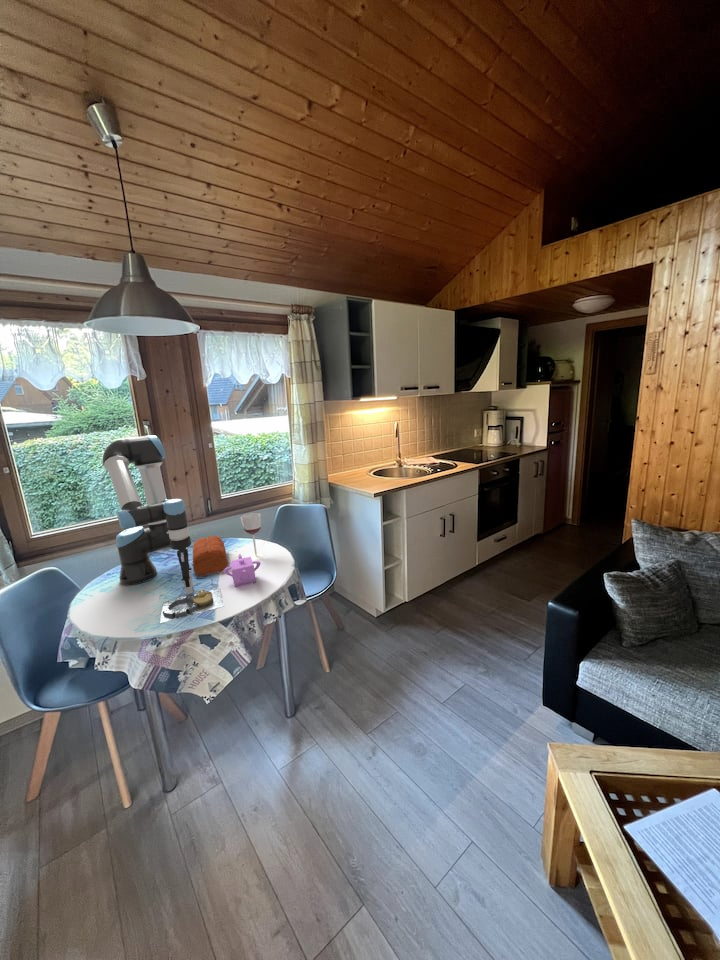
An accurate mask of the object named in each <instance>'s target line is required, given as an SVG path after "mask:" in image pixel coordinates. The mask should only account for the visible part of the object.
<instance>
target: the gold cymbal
mask: <svg viewBox="0 0 720 960" xmlns="http://www.w3.org/2000/svg"><path fill="white" fill-rule="evenodd" d="M209 591H210V590H208V591H206V590H205V589H200V590H198V593H196V595H195V594H194V595H195V596H194V597H193V601H194V603H195V604H197V605H198V606H205V605H208V604H210V603H211V602H212V601H213V596H212V593H211V592H209Z"/></svg>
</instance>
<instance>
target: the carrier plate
mask: <svg viewBox="0 0 720 960" xmlns="http://www.w3.org/2000/svg"><path fill="white" fill-rule="evenodd" d="M208 591H209V592H211V593H212V596H213V601H212V602H211V603H210V604H208V605H205V606H198V605H197V604H195V603H194V601H193V597H194V596H195V595H196V594H197V593H196V594H190V595H188V596H187V595H183V596H180V597H176V598H175V599H172V600H171V599H170V600H168V601H167V600H166V601H163V602H162V603H161V612H160V620H159V624H162V623H166V622H170V621H171V622H172V621H173V620H177V619H182V618H186V617H189V616H193V615H197V614H200V613H204V612H207V611H208V612H209V611H211V610H212V611H213V610H216V609H219V608H223V607H225V604H224V599H223V593H222V588H216V589H211V590H208Z"/></svg>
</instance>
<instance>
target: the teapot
mask: <svg viewBox="0 0 720 960" xmlns="http://www.w3.org/2000/svg"><path fill="white" fill-rule="evenodd" d="M237 556H238V558H237V559H233V560H230V566H227V568H225V569H224V571H223V572H224V574H225V575H227V576H229V577H232V580H233V585H234V588H236V587H241V586H247V585H250V584H252V585H254V584H255V583H257V579H256V571H257V570H258V569H259V567H260V566H261V561H260V560H257V561H252V559H251V557H250V556H247V557H243V556H242V554H241V553H240V554H239V553H238V555H237ZM254 564H255V566H254ZM230 569H231V572H230V571H229V570H230Z"/></svg>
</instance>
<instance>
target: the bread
mask: <svg viewBox="0 0 720 960" xmlns="http://www.w3.org/2000/svg"><path fill="white" fill-rule="evenodd" d="M192 545H193V547H192V566H193V567H192V569H193V572H194V574H195V575H197V576H198V577H203V576H208V575H213V574H218V573H221V572H224V569H225V568H227V567H228V564H229V560H228V557H227V556H228V555H227V552H226V547H225V544H224V541H223V539H222V538H221V537H220V536H216V535H211V536H208V537H203V538H199V539H197V540H196V541H195V542H194V543H193V544H192Z"/></svg>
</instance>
